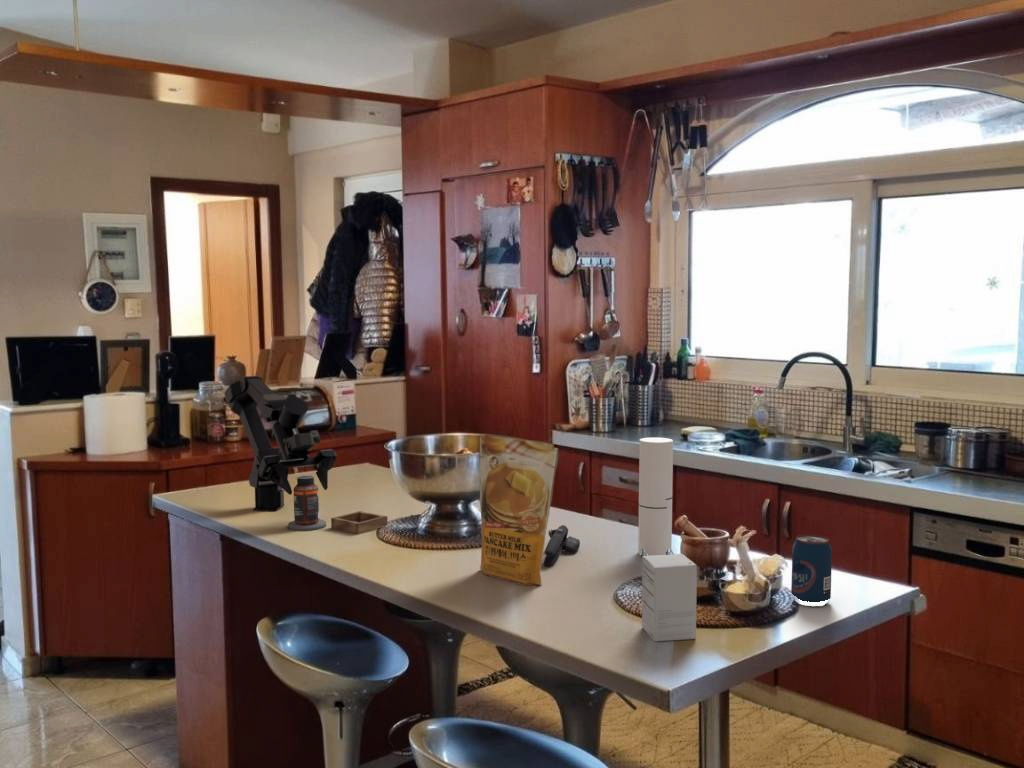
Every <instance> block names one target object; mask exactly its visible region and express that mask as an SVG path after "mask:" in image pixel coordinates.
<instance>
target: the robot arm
mask: <svg viewBox="0 0 1024 768" xmlns="http://www.w3.org/2000/svg"><path fill="white" fill-rule="evenodd" d="M224 399H225V403H227V405H228V407H229V409H230V410H231V412H232V413H234V414H236V415H237V416H239V418H240V421H241V422H242V425H243V428H244V430H245V432H246V435H247V439H248V440H249V444H250V447H251V448H252V452H253V454H254V461H253V464H252V469H251V472H250V474H249V476H248V483H249V486H250V487H253V488H254V501H255V502H254V503H255V504H254V507H253V508H252V511H268V512H269V511H275V512H276V511H278V510H280V509H282V508H283V507H285V496H284V494H285V493H284V492H286V493H287V494H288V495H290V496H291V495H292V493H293V491H292V487H291V484H290V481H289V479H288V477H289V470H290V469H291V468H292V469H293V468H294V469H295V468H303V467H310V466H311V467H314V470H315V471H316V472H315V474H316V477H317V479H318V481H319V482H320V485H321V487H322V488H323V490H324V491H327V489H328V488H329V487H328V483H329V481H328V478H329V477H328V476H329V475H328V473H329V471H330V470H332V468H333V466H334V464H335V462H336V461H337V459H338V455H337V453H336V451H335V450H334V449H332V448H330V449H329V448H328V449H322V450H321V449H319V450H318V452H317V454H316V456H310V457H309V455H310V454H311V452H312V449H311V448H312V447H315V445H319V443H320V442H321V436H320V434H319V432H318V429H316V430H310V431H309V432H303V433H299V430H298V428H300V427H301V425H302V424H303V422H304V419H305V417H306V415H307V412H308V410H309V405H308V403H307V402H306V401H305V400H303V399H302V398H300V397H297V394H294V393H293V394H292V393H291V394H287V396H285V395H279V394H277V393H275V392H274V391H273V390H272V389H271V388H270V387H269V386H268V385H267V384H266V383H265V382H264V381H263V378H262V377H261V376H259V375H248V376H246V375H245V376H242V377H241V378H240V379H239V380H237V381H235V382H234V383H232V384H230V385H229V386H228V387H227V389H226V390H225V393H224ZM258 405H259V407H260V412H259V411H258V408H257V406H258ZM259 413H260V414H259ZM261 417H262V418H263V420H264V421H265V422H266V423H274V424H273V425H272V431H271V437H272V438H275V440H276V443H277V445H278V447H277V448H276V447H275V448H274V447H273V446H272V444H271V440H270V439H269V436H268V434H267V431H266V429H265V426H264V423H263V421H262V418H261Z"/></svg>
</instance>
